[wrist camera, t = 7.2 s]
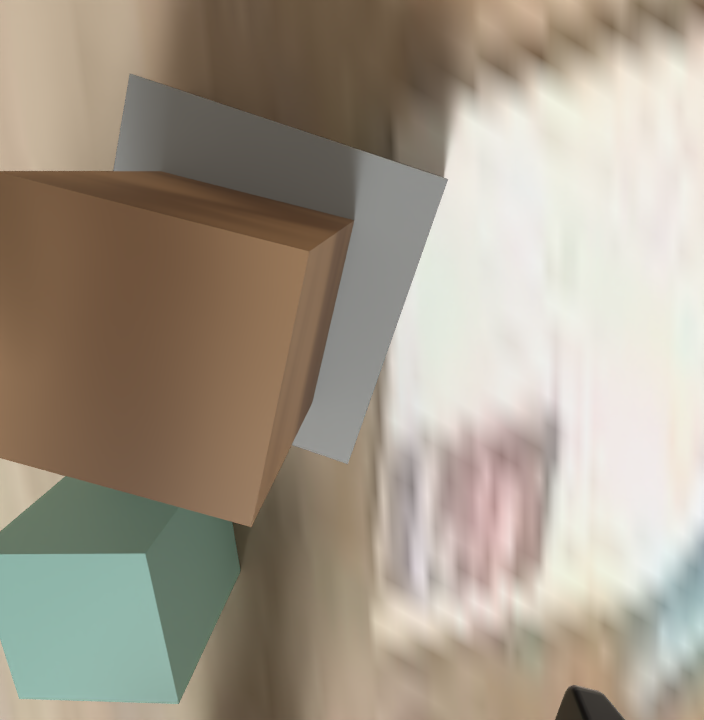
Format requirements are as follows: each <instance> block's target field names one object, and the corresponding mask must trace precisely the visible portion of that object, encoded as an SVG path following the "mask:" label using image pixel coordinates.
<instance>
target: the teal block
mask: <svg viewBox="0 0 704 720" xmlns="http://www.w3.org/2000/svg"><path fill="white" fill-rule="evenodd" d="M239 574H240V565H239V559H238V553H237V548H236V542H235V536H234V530H233V524H232V522H231V521H227V520H223V519H220V518H216V517H213V516H209V515H205V514H202V513H198V512H194V511H191V510H187V509H184V508H180V507H176V506H173V505H169V504H165V503H162V502H158V501H155V500H151V499H147V498H144V497H140V496H136V495H133V494H129V493H126V492H122V491H118V490H115V489H111V488H107V487H104V486H100V485H96V484H93V483H89V482H86V481H82V480H78V479H75V478H71V477H67V476H65V477H64V478H63V479H62V480H61V481H59V482H58V483H57V484H56V485H55V486H54V487H52V488H51V489H50V490H49V491H48V492H46V493H45V494H44V495H43V496H42V497H40V498H39V499H38V500H37V501H36V502H35V503H33V504H32V505H31V506H30V507H29V508H27V509H26V510H25V511H24V512H23V513H22V514H20V515H19V516H18V517H17V518H16V519H14V520H13V521H12V522H11V523H10V524H8V525H7V526H6V527H5V528H4V529H3V530H1V531H0V640H1V643H2V646H3V650H4V653H5V656H6V659H7V662H8V665H9V668H10V671H11V675H12V678H13V681H14V684H15V687H16V690H17V693H18V696H19V699H42V700H73V701H105V702H136V703H167V704H179V702H180V700H181V698H182V696H183V694H184V692H185V689H186V687H187V685H188V683H189V681H190V679H191V676H192V674H193V672H194V670H195V668H196V666H197V664H198V661H199V659H200V657H201V655H202V653H203V651H204V649H205V646H206V644H207V642H208V640H209V638H210V636H211V634H212V631H213V629H214V627H215V625H216V623H217V621H218V619H219V616H220V614H221V612H222V610H223V608H224V606H225V604H226V601H227V599H228V597H229V595H230V593H231V591H232V589H233V586H234V584H235V582H236V580H237V578H238V576H239Z"/></svg>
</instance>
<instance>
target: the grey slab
mask: <svg viewBox="0 0 704 720" xmlns="http://www.w3.org/2000/svg"><path fill="white" fill-rule="evenodd" d="M113 171H162V172H166V173H170V174H173V175H177V176H181V177H185V178H189V179H193V180H197V181H201V182H205V183H209V184H213V185H217V186H221V187H225V188H229V189H233V190H237V191H241V192H245V193H249V194H253V195H256V196H260V197H264V198H268V199H272V200H276V201H280V202H284V203H288V204H292V205H296V206H300V207H304V208H308V209H312V210H316V211H320V212H324V213H328V214H332V215H336V216H339V217H343V218H347V219H351V220H354V224H353V229H352V233H351V237H350V242H349V246H348V250H347V255H346V259H345V263H344V268H343V272H342V276H341V281H340V285H339V289H338V294H337V298H336V302H335V307H334V311H333V315H332V320H331V324H330V328H329V333H328V337H327V341H326V346H325V350H324V354H323V359H322V363H321V367H320V372H319V376H318V380H317V385H316V389H315V393H314V398H313V402H312V404H311V406H310V409H309V411H308V413H307V415H306V417H305V419H304V421H303V423H302V425H301V427H300V429H299V431H298V433H297V435H296V437H295V439H294V441H293V443H292V445H294V446H297V447H299V448H302V449H305V450H308V451H311V452H314V453H317V454H320V455H323V456H326V457H329V458H332V459H335V460H337V461H340V462H343V463H346V464H348V462H349V459H350V456H351V453H352V451H353V448H354V445H355V442H356V439H357V436H358V433H359V431H360V428H361V425H362V422H363V419H364V416H365V414H366V411H367V408H368V405H369V402H370V399H371V397H372V394H373V391H374V388H375V385H376V382H377V379H378V377H379V374H380V371H381V368H382V365H383V362H384V360H385V357H386V354H387V351H388V348H389V345H390V343H391V340H392V337H393V334H394V331H395V328H396V325H397V323H398V320H399V317H400V314H401V311H402V308H403V306H404V303H405V300H406V297H407V294H408V291H409V289H410V286H411V283H412V280H413V277H414V274H415V271H416V269H417V266H418V263H419V260H420V257H421V254H422V252H423V249H424V246H425V243H426V240H427V237H428V235H429V232H430V229H431V226H432V223H433V220H434V217H435V215H436V212H437V209H438V206H439V203H440V200H441V198H442V195H443V192H444V189H445V186H446V183H447V181H448V179H446V178H444V177H441V176H438V175H435V174H432V173H429V172H426V171H422V170H419V169H416V168H413V167H410V166H407V165H404V164H401V163H398V162H395V161H392V160H389V159H386V158H383V157H380V156H377V155H374V154H371V153H368V152H365V151H362V150H359V149H356V148H353V147H350V146H347V145H344V144H341V143H338V142H335V141H332V140H329V139H326V138H323V137H320V136H317V135H314V134H311V133H308V132H305V131H302V130H299V129H296V128H293V127H290V126H287V125H284V124H281V123H278V122H275V121H272V120H269V119H266V118H263V117H260V116H257V115H254V114H251V113H248V112H245V111H242V110H239V109H236V108H233V107H230V106H227V105H224V104H221V103H218V102H215V101H212V100H209V99H206V98H203V97H200V96H197V95H194V94H191V93H188V92H185V91H182V90H179V89H176V88H173V87H169V86H166V85H163V84H160V83H157V82H154V81H151V80H148V79H145V78H142V77H139V76H136V75H133V74H130V75H129V81H128V87H127V93H126V99H125V105H124V111H123V117H122V122H121V128H120V134H119V140H118V146H117V152H116V158H115V164H114V170H113Z"/></svg>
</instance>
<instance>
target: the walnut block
mask: <svg viewBox="0 0 704 720" xmlns="http://www.w3.org/2000/svg"><path fill="white" fill-rule="evenodd" d="M353 224H354V220H351V219H347V218H343V217H339V216H336V215H332V214H328V213H324V212H320V211H316V210H312V209H308V208H304V207H300V206H296V205H292V204H288V203H284V202H280V201H276V200H272V199H268V198H264V197H260V196H256V195H253V194H249V193H245V192H241V191H237V190H233V189H229V188H225V187H221V186H217V185H213V184H209V183H205V182H201V181H197V180H193V179H189V178H185V177H181V176H177V175H173V174H170V173H166V172H162V171H0V458H2V459H6V460H9V461H13V462H17V463H20V464H24V465H28V466H31V467H35V468H38V469H42V470H46V471H49V472H53V473H57V474H60V475H64V476H67V477H71V478H75V479H78V480H82V481H86V482H89V483H93V484H96V485H100V486H104V487H107V488H111V489H115V490H118V491H122V492H126V493H129V494H133V495H136V496H140V497H144V498H147V499H151V500H155V501H158V502H162V503H165V504H169V505H173V506H176V507H180V508H184V509H187V510H191V511H194V512H198V513H202V514H205V515H209V516H213V517H216V518H220V519H223V520H227V521H231V522H234V523H238V524H242V525H245V526H249V527H252V525H253V523H254V521H255V519H256V517H257V515H258V513H259V511H260V509H261V507H262V505H263V502H264V500H265V498H266V496H267V494H268V492H269V490H270V488H271V486H272V484H273V482H274V480H275V478H276V476H277V474H278V472H279V470H280V468H281V466H282V464H283V462H284V460H285V458H286V455H287V453H288V451H289V449H290V447H291V445H292V443H293V441H294V439H295V437H296V435H297V433H298V431H299V429H300V427H301V425H302V423H303V421H304V419H305V417H306V415H307V413H308V411H309V409H310V406H311V404H312V402H313V398H314V393H315V389H316V385H317V380H318V376H319V372H320V367H321V363H322V359H323V354H324V350H325V346H326V341H327V337H328V333H329V328H330V324H331V320H332V315H333V311H334V307H335V302H336V298H337V294H338V289H339V285H340V281H341V276H342V272H343V268H344V263H345V259H346V255H347V250H348V246H349V242H350V237H351V233H352V229H353Z"/></svg>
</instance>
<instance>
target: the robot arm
mask: <svg viewBox="0 0 704 720" xmlns="http://www.w3.org/2000/svg"><path fill="white" fill-rule="evenodd" d="M555 720H625V719H624V718H623V717H622V716H621V714H620V713H619V712H618V711H617V710H616V708H615V707H614V706H613V705H612V703H611V702H610V701H609V700H608V699H607V698H606V696H605V695H604V694H602V693H601V692H599V691H597V690H593V689H589V688H585V687H581V686H577V685H572V686H570V687H569V688H568V689H567V690H566V692H565V694H564V697H563V700H562V702H561V705H560V708H559V710H558V713H557V716H556V719H555Z"/></svg>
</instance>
